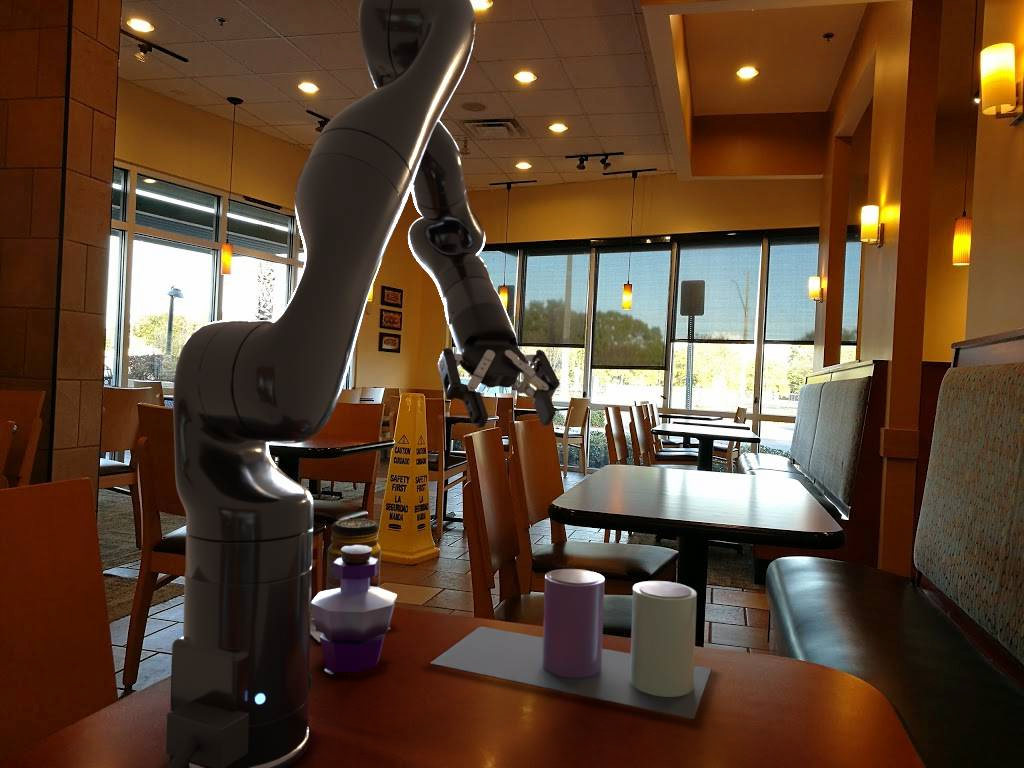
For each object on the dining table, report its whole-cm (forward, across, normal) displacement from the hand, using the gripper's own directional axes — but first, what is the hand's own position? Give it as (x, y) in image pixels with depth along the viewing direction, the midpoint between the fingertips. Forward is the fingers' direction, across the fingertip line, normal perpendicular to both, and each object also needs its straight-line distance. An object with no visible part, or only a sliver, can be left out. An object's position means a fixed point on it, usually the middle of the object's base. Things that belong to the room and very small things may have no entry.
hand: (516, 422), depth 84 cm
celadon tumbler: (+31, +6, +1) cm, 31 cm away
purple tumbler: (+26, 0, +6) cm, 27 cm away
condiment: (+12, -18, +22) cm, 31 cm away
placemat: (+26, 0, +7) cm, 27 cm away
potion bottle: (+20, -20, +14) cm, 31 cm away
